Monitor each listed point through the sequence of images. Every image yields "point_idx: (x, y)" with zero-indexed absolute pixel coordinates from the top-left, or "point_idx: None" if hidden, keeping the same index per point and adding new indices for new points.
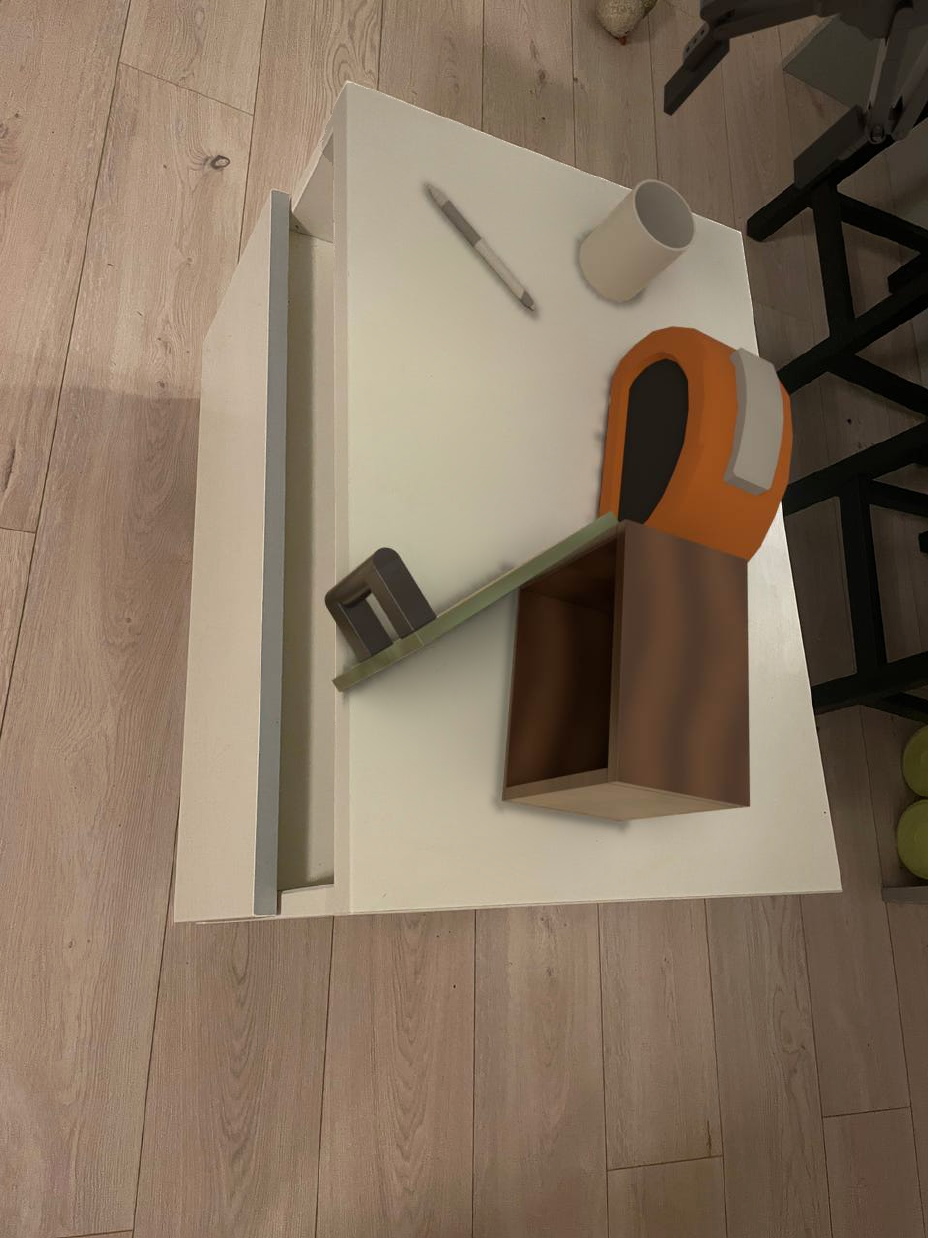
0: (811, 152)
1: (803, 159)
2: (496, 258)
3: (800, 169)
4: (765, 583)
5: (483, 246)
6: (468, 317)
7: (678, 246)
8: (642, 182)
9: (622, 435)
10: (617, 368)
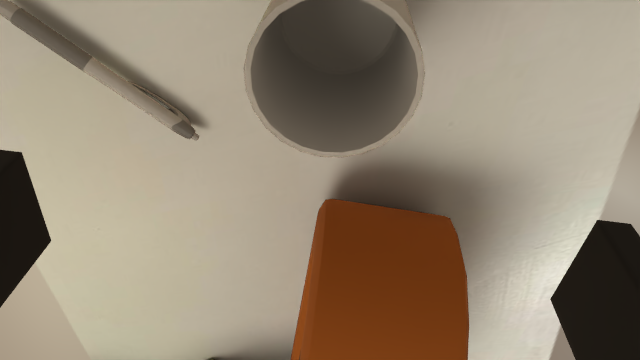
0: (619, 314)
1: (600, 283)
2: (118, 89)
3: (577, 295)
4: (526, 346)
5: (93, 75)
6: (119, 157)
7: (409, 75)
8: (271, 16)
9: (307, 301)
10: (318, 213)
